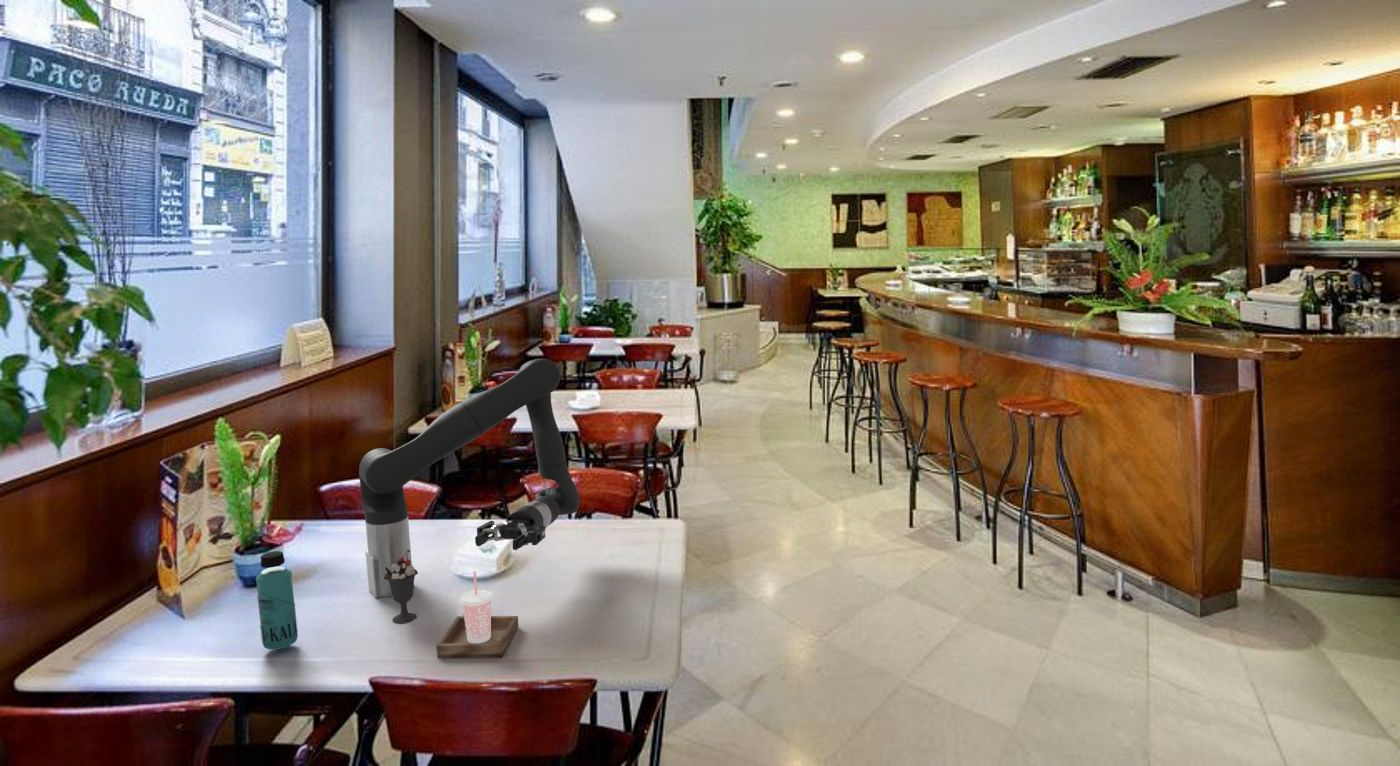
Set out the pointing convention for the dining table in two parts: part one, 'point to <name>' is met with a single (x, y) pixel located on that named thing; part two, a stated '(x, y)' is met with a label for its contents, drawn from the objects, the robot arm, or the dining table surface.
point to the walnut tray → (495, 647)
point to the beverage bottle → (276, 602)
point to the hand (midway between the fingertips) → (495, 543)
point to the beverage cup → (477, 614)
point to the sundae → (402, 587)
